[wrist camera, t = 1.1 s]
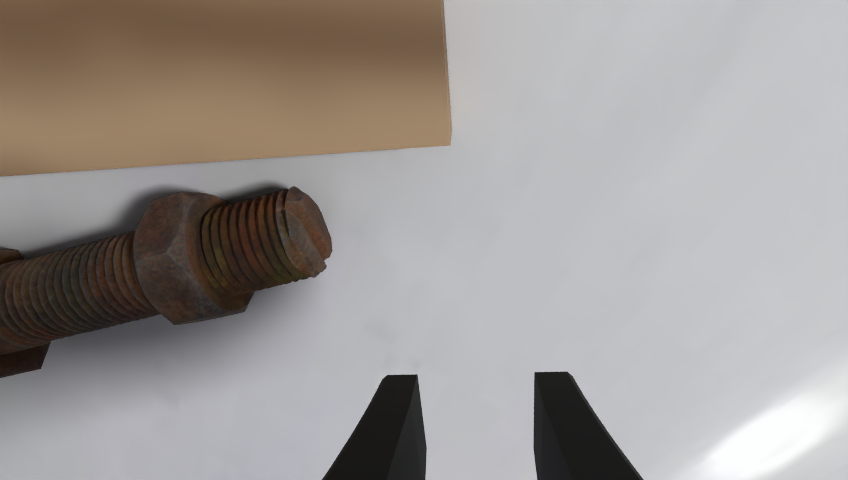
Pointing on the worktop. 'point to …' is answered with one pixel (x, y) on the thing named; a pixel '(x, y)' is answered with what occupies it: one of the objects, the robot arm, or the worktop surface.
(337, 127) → the walnut board
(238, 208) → the bolt
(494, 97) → the worktop surface
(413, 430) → the robot arm
